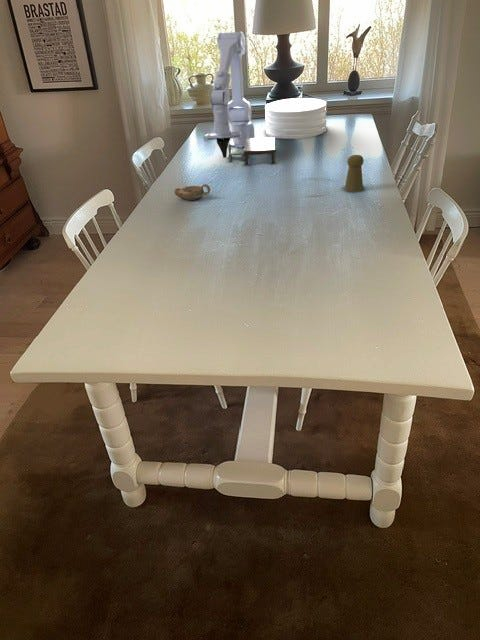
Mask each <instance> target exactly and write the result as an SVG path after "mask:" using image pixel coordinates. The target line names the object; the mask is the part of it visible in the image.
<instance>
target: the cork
mask: <svg viewBox="0 0 480 640" xmlns="http://www.w3.org/2000/svg"><path fill="white" fill-rule="evenodd" d="M364 160H365V159H364V156H362V155H361V154H351V155H349V156H348V157H347V159H346V163H347V166H348V168H347V174H346V179H345V185H344V190H345V191H347V192H350V193H357V192H361V191H363V190H364V182H363V181H364V180H363V167H362V166H363V165H364Z"/></svg>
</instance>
